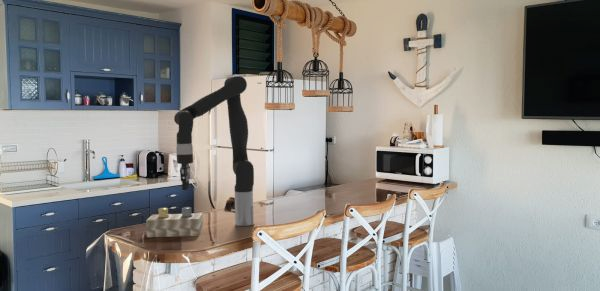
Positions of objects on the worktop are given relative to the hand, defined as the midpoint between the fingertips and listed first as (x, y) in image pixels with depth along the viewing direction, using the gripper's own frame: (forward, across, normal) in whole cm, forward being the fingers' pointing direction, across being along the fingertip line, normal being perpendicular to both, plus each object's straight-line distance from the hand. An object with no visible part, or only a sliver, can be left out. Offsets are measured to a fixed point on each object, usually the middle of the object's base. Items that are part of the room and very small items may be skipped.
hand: (185, 188), depth 227 cm
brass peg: (+17, 0, +11) cm, 21 cm away
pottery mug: (+22, +52, -18) cm, 59 cm away
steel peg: (+17, 0, 0) cm, 17 cm away
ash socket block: (+21, 0, +6) cm, 22 cm away
